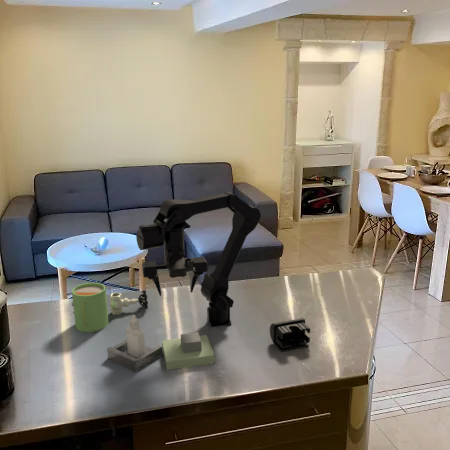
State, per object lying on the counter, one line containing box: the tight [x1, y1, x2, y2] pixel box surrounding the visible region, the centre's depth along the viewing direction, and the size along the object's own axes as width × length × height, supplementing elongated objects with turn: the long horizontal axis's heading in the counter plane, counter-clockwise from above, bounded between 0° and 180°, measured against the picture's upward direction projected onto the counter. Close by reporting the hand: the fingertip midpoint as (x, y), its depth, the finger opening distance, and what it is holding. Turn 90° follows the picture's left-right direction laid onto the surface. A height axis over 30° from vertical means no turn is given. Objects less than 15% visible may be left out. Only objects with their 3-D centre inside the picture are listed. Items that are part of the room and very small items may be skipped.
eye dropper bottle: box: [125, 314, 146, 358], centre depth 135 cm, size 4×6×12 cm
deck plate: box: [161, 332, 216, 371], centre depth 136 cm, size 13×11×6 cm
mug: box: [71, 282, 109, 333], centre depth 152 cm, size 13×10×12 cm
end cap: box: [269, 317, 311, 353], centre depth 141 cm, size 10×7×7 cm
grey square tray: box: [106, 339, 164, 372], centre depth 136 cm, size 10×11×3 cm
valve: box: [109, 289, 149, 316], centre depth 162 cm, size 7×7×12 cm
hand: (175, 293), depth 145 cm, fingers open, 9 cm apart
